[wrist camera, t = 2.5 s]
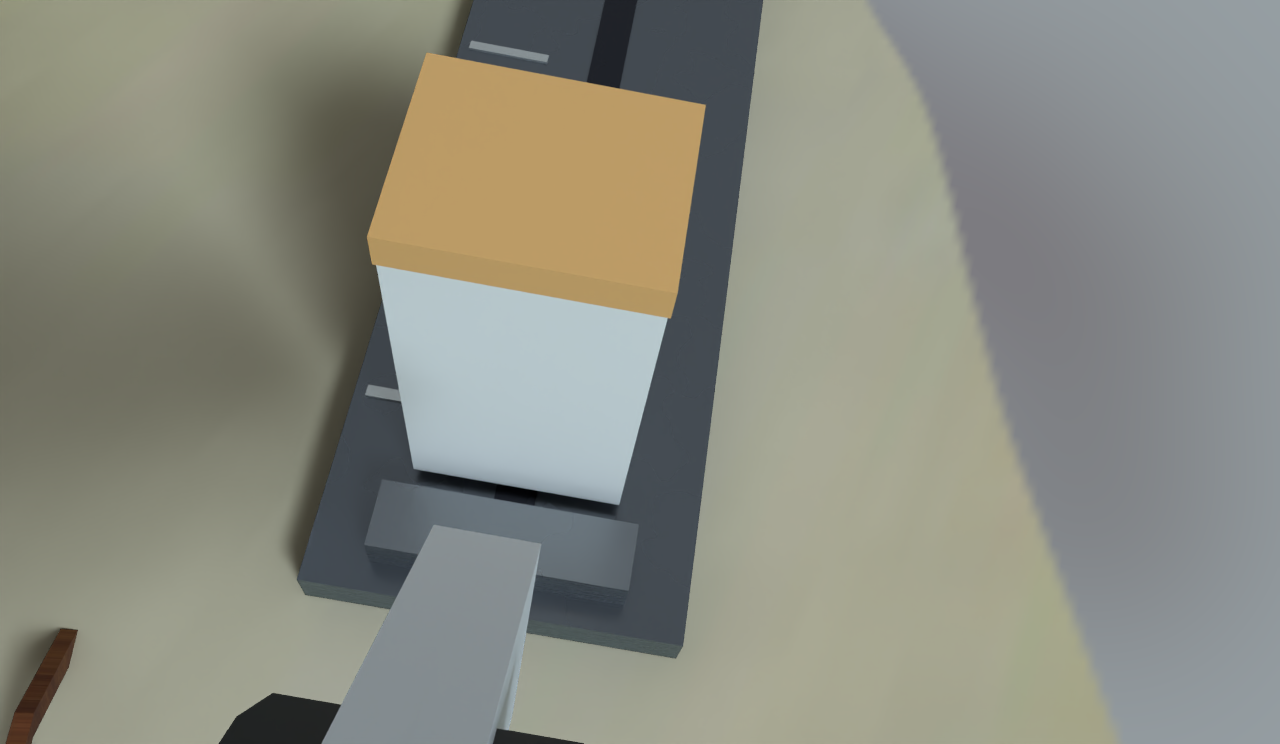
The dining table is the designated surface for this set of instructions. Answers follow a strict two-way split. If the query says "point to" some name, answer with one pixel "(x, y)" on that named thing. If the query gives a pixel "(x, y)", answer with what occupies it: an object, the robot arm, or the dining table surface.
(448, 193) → the fader knob
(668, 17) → the board
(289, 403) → the dining table surface
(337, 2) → the dining table surface
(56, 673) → the glasses
